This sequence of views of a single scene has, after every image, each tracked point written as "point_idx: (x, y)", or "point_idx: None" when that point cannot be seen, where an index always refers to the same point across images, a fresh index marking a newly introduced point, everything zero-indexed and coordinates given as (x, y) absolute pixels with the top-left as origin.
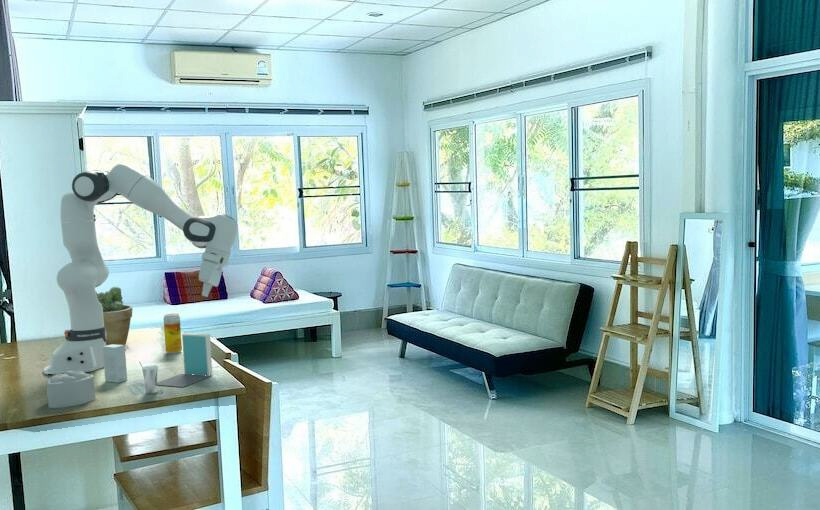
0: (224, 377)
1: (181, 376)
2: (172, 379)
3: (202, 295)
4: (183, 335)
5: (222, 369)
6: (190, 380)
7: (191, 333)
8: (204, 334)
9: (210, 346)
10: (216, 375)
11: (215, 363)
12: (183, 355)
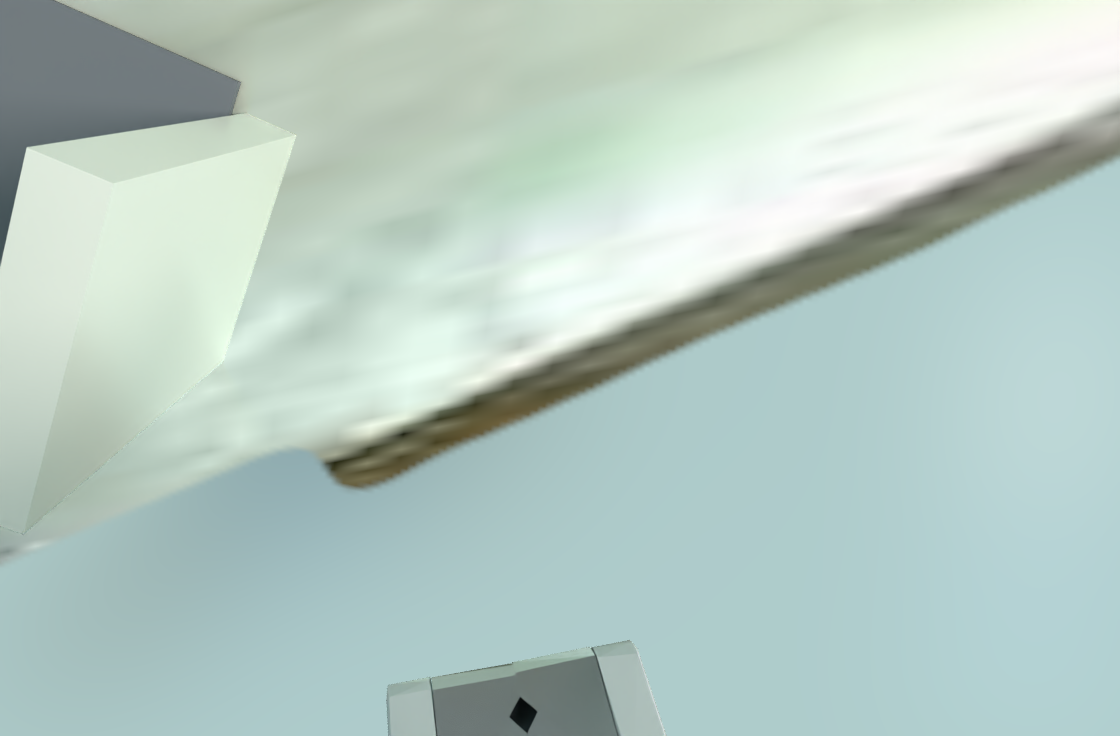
0: (141, 469)
1: (136, 115)
2: (28, 59)
3: (394, 689)
4: (32, 168)
5: (399, 402)
6: (6, 236)
7: (80, 278)
8: (11, 471)
9: (99, 464)
10: (203, 397)
11: (631, 296)
12: (168, 126)
